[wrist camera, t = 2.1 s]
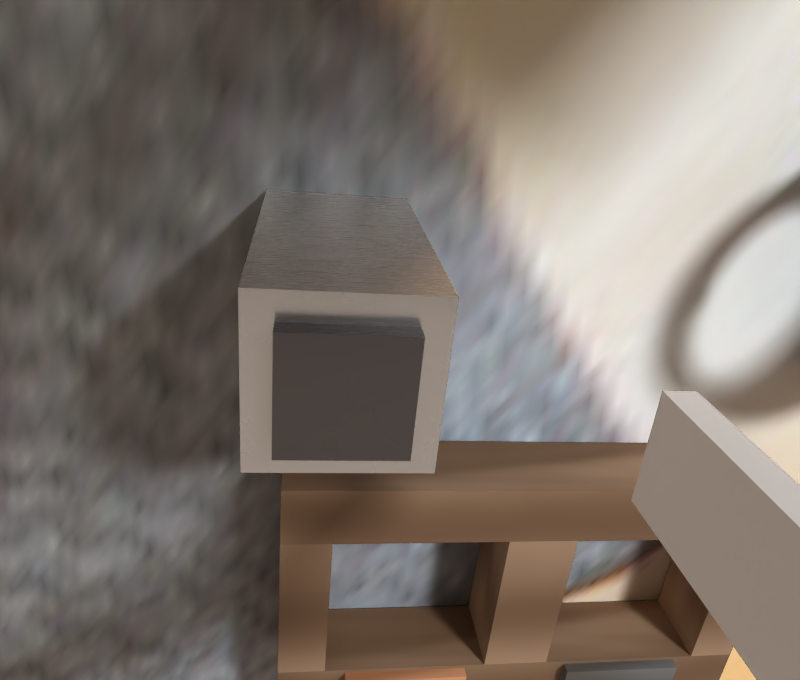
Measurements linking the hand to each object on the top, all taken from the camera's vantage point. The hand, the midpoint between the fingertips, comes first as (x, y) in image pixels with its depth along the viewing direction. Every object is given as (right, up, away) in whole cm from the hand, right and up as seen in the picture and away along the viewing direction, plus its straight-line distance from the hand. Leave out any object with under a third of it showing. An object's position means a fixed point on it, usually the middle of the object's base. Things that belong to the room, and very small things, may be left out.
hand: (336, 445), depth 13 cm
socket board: (+6, -7, +15) cm, 18 cm away
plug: (-1, +5, +9) cm, 10 cm away
